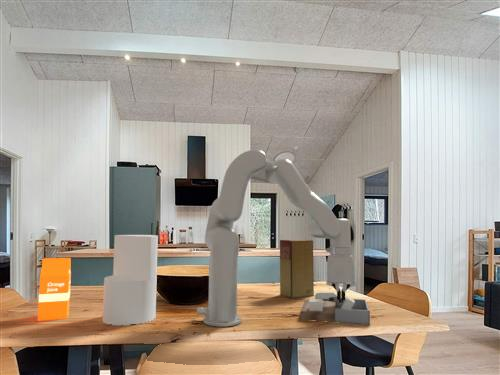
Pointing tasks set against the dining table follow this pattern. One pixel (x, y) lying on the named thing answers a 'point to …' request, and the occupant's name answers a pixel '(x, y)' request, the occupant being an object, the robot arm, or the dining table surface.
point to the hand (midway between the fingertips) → (341, 301)
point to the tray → (353, 313)
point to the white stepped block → (131, 281)
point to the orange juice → (54, 289)
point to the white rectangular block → (315, 305)
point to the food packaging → (296, 268)
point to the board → (319, 312)
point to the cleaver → (326, 296)
